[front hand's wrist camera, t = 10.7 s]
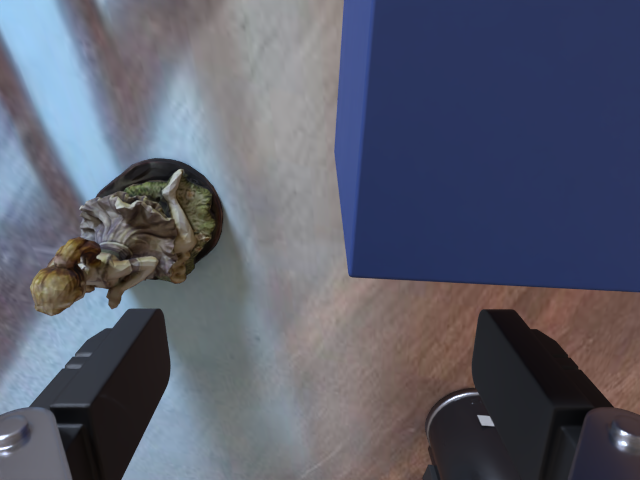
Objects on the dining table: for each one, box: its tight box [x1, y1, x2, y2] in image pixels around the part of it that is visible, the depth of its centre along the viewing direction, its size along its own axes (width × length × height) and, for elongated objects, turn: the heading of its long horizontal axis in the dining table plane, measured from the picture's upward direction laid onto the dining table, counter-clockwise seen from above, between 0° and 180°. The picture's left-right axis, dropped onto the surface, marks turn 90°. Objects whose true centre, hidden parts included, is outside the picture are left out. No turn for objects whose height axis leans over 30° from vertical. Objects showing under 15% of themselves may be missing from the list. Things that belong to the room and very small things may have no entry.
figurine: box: [30, 158, 223, 316], centre depth 32 cm, size 12×11×15 cm
